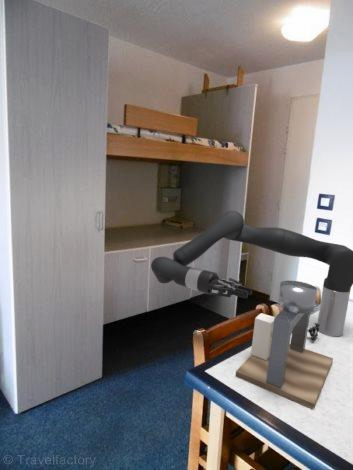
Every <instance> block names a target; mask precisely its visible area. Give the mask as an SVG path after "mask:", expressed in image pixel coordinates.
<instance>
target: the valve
mask: <svg viewBox="0 0 353 470" xmlns="http://www.w3.org/2000/svg"><path fill="white" fill-rule="evenodd" d="M318 327H319V324H318V323H317V322H314V325H313V326H311V327H308V331H307V333H309V336H310V341H314V342H315V341H316V340H317V338H318V337H319V334H318V333H319V332H320V331H319V328H318ZM292 330H293V329H292ZM291 334H292V331H291Z"/></svg>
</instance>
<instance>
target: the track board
mask: <svg viewBox="0 0 353 470" xmlns="http://www.w3.org/2000/svg"><path fill="white" fill-rule="evenodd" d="M333 361H334V358H333V357H330V356H327V355H326V354H325V355H324V354H321V353H318V352H316V351H312V350H309V349H306V348H305V350H304V351H303V353H300V352H297V351H295V350H292V349H290V345H289V352H288V359H287V366H286V373H285V380H284V384H283V386H282V387H281V389H280V388H278V387H275V386H273V385H270V384H268V383H266V378H267V370H268V363H269V358H268V359H267V360H264V359H262V358H259V357H256V356H254V355H251V354H250V355H249V357H248V358H247V359H246V360H245V361H244V362H243V363H242V364H241V365H240V366H239V368H238V369H236V371H235V377H237V378H239V379H241V380H244V381H246V382H249V384H253V385H255V386H257V387H259V388H263V389H265V390H267V391H270V392H272V393H274V394H276V395H279V396H281V397H283V398H286V399H288V400H291V401H292V402H295V403H298V404H300V405H303V406H304V407H307V408H309V409H311V410H314V409H315V407H316V404H317V401H318V399H319V396H320V394H321V392H322V389H323V387H324V384H325V381H326V379H327V377H328V375H329V371H330V370H331V366H332V365H333Z"/></svg>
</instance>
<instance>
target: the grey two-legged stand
mask: <svg viewBox="0 0 353 470" xmlns="http://www.w3.org/2000/svg"><path fill="white" fill-rule="evenodd" d="M278 289H279V290H278V298H277V306H278V307H280V308H281V309H282V310H281V311H280V312H279V313H278V314H277V315H276V316H274V317H275V318H274V325H273V333H272V340H271V348H270V355H269V363H268V370H267V378H266V383H268V384H270V385H273V386H275V387H278V388H280V389H281V387H282V386H283V384H284V380H285V373H286V366H287V359H288V352H289V345H290V349H292V350H295V351H297V352H300V353H303V351H304V350H305V349H306V344H307V339H308V338H307V337H308V336H307V335H308V328H309V324H310V317H311V313H313V312H315V307H316V301H317V294H318V288H317V287H316V286H314V285H312V284H310V283H307V282H303V281H298V280H282V281H280V283H279V288H278ZM292 329H293V330H292ZM291 331H292V333H291Z"/></svg>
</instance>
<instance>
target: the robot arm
mask: <svg viewBox="0 0 353 470" xmlns="http://www.w3.org/2000/svg"><path fill="white" fill-rule="evenodd" d="M244 219H245V218H244V216H243V215H242V214H241V213H240V212H239V211H236V210H228V211H226V212H225V213H223V214H222V215H221V216H219V218H218V219H217V220H216V221H215V222H214V223H213V224H211V225H210V226H209V227H208V228H207V229H205V230H204V231H202V232H201V233H200V234H198V235H197V236H195V237H194V238H193V239H190V241H188V242H186V243H185V244H183V245H181V246H180V247H178V248H177V249H176V250H174V251H173V253H172V257H173V259H172V258H169V257H167V256H158V257H155V258H154V259H152V260H151V261H152V262H151V264H150V268H151V271H152V273H153V274H154V276H155V278H156V279H157V281H158V282H159V283H161V284H168V283H170V282H174V283H175V284H177V285H178V286H182V287H186V288H188V289H191V290H193V291H197V292H199V293H203V294H205V295H212V296H218V297H224V298H231V297H238V298H242V299H248V296H251V295H252V294H253V288H252V287H249V286H248V287H247V286H244V285H243V283H242V282H241V281H238V280H236V279H234V278H232V277H230V278H228V279H226V278H220V277H219V275H218V273H217V272H214V271H210V270H207V269H204V268H203V269H202V268H197V267H191V266H188V265H190V264H192V263H193V262H195V261H196V260H197V259H199V258H200V257H201V256H202V255H204V254H205V253H206V252H207V251H208V250H209V249H210V248H212V246H214V245H215V244H216V243H217V242H219V241H220V240H222V239H224V238H225V239H226V240H229V241H235V242H240V243H245V244H250V245H253V246H255V247H256V246H257V247H259V248H263V249H266V250H269V251H272V252H276V253H279V254H282V255H284V256H285V255H286V256H290V257H297V258H306V259H307V258H308V259H313V260H315V261H317V262H318V261H319V262H321V263H324V264H326V265H327V266H328V272H327V276H326V278H324V281H323V284H322V291H321V298H320V304H319V310H318V316H317V317H318V318H317V322H316V323H318V324H319V327H318V328H319V331H318V332H320V333H322V334H324V335H327V336H331V337H341V336H343V335H344V328H345V323H346V318H347V313H348V312H347V311H348V308H349V307H348V306H349V302H350V294H351V291H352V290H351V289H352V287H353V249H351V248H349V247H348V246H346V245H344V244H338V243H333V242H326V241H322V240H321V241H320V240H317V239H314V238H312V237H309V236H307V235H304V234H301V233H298V232H296V231H293V230H289V229H285V228H281V227H274V226H273V227H266V226H265V227H262V226H261V227H259V226H254V225H253V226H252V225H249V224H246V223H245V220H244Z"/></svg>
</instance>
